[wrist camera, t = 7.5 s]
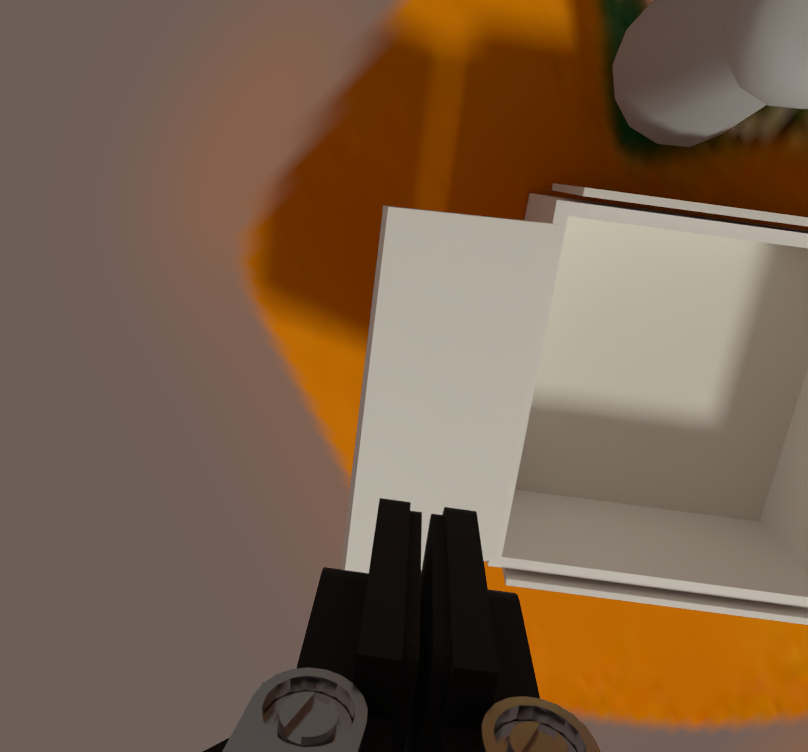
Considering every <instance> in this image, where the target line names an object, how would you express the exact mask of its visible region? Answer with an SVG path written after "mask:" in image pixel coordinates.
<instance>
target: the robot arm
mask: <svg viewBox="0 0 808 752" xmlns="http://www.w3.org/2000/svg"><path fill="white" fill-rule="evenodd" d="M410 505H411V502H404V501H397V500H390V499H382V498H380V499H379V506H378V513H377V520H376V527H375V534H374V540H373V547H372V554H371V561H370V568H369V573H362V572H355V571H348V570H339V569H333V568H326V567H324V568H323V570H322V573H321V577H320V581H319V585H318V588H317V592H316V596H315V600H314V604H313V607H312V611H311V615H310V619H309V623H308V627H307V630H306V634H305V638H304V642H303V646H302V650H301V653H300V657H299V661H298V665H297V669H291V670H288V671H285V672H282V673H279V674H276V675H274V676H273V677H272V678H270V679H268V680H267V681H266V682H264V683H263V684H262V685H261V686H260V687H259V689H258V690H257V691H256V692H255V694H254V695H253V696H252V698H251V700H250V702H249V704H248V706H247V707H246V709H245V711H244V713H243V715H242V717H241V719H240V720H239V722H238V724H237V726H236V727H235V729H234V731H233V733H232V735H231V737H230V738H228V739H226V740H224V741H222V742H220V743H219V744H217V745H215V746H213V747H211V748H209V749H207V750H205V751H203V752H600V750H599V747H598V745H597V743H596V741H595V739H594V738H593V736H592V735H591V733H590V732H589V730H588V729H587V727H586V726H585V725H584V724H583V723H582V722H581V721H580V720H579V719H578V718H576V717H575V716H574V715H573V714H572V713H570V712H568V711H567V710H565V709H563V708H562V707H560V706H559V705H557V704H554V703H551V702H548V701H546V700H543V699H540V697H539V692H538V687H537V682H536V678H535V673H534V668H533V663H532V659H531V654H530V649H529V644H528V639H527V635H526V630H525V625H524V620H523V616H522V611H521V606H520V601H519V598H518V595H517V594H515V593H510V592H502V591H495V590H488V589H487V582H486V575H485V568H484V561H483V554H482V547H481V540H480V533H479V525H478V518H477V513H476V511H470V510H463V509H456V508H448V507H444V510H443V514H442V515H438V514H431V517H430V522H429V528H428V535H427V541H426V547H425V553H424V559H423V565H422V572H421V536H422V512H416V511H410Z"/></svg>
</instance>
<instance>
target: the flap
mask: <svg viewBox="0 0 808 752" xmlns="http://www.w3.org/2000/svg"><path fill="white" fill-rule="evenodd" d="M558 227H559V225H558V224H554V223H545V222H536V221H527V220H517V219H508V218H498V217H489V216H479V215H470V214H460V213H451V212H441V211H432V210H422V209H413V208H404V207H394V206H385V205H383V212H382V221H381V229H380V238H379V247H378V255H377V264H376V272H375V281H374V289H373V298H372V306H371V315H370V323H369V332H368V340H367V349H366V357H365V366H364V375H363V383H362V392H361V400H360V409H359V417H358V426H357V434H356V443H355V451H354V460H353V468H352V477H351V486H350V494H349V503H348V511H347V520H346V528H345V537H344V545H343V554H342V562H341V570H348V571H355V572H362V573H369V568H370V561H371V554H372V547H373V540H374V534H375V527H376V520H377V513H378V506H379V499H380V498H382V499H390V500H397V501H404V502H411V505H410V511H416V512H422V536H421V570H422V565H423V559H424V553H425V547H426V541H427V535H428V528H429V522H430V517H431V514H438V515H442V514H443V510H444V507H448V508H456V509H463V510H470V511H476V513H477V518H478V525H479V533H480V540H481V547H482V554H483V561H488V560H495V556H496V551H497V546H498V541H499V535H500V530H501V525H502V520H503V515H504V509H505V504H506V499H507V494H508V488H509V483H510V478H511V473H512V468H513V462H514V457H515V452H516V447H517V441H518V436H519V431H520V426H521V421H522V415H523V410H524V405H525V400H526V394H527V389H528V384H529V379H530V374H531V368H532V363H533V358H534V353H535V347H536V342H537V337H538V332H539V327H540V321H541V316H542V311H543V306H544V300H545V295H546V290H547V285H548V280H549V274H550V269H551V264H552V259H553V253H554V248H555V243H556V238H557V233H558Z"/></svg>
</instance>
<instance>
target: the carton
mask: <svg viewBox="0 0 808 752" xmlns="http://www.w3.org/2000/svg"><path fill="white" fill-rule="evenodd" d="M552 190H553V191H558V192H564V193H569V194H574V195H580V196H586V197H593V198H601V199H608V200H615V201H623V202H630V203H638V204H645V205H652V206H660V207H667V208H675V209H682V210H689V211H697V212H704V213H712V214H719V215H726V216H734V217H741V218H749V219H756V220H763V221H771V222H778V223H786V224H793V225H800V226H808V217H801V216H793V215H786V214H778V213H771V212H764V211H756V210H749V209H742V208H734V207H727V206H719V205H712V204H705V203H697V202H690V201H682V200H675V199H668V198H660V197H653V196H645V195H638V194H631V193H623V192H616V191H608V190H601V189H594V188H586V187H579V186H571V185H563V184H555V183H553V185H552ZM525 220H527V221H536V222H545V223H554V224H558V225H559V227H558V233H557V238H556V243H555V248H554V253H553V259H552V264H551V269H550V274H549V280H548V285H547V290H546V295H545V300H544V306H543V311H542V316H541V321H540V327H539V332H538V337H537V342H536V347H535V353H534V358H533V363H532V368H531V374H530V379H529V384H528V389H527V394H526V400H525V405H524V410H523V415H522V421H521V426H520V431H519V436H518V441H517V447H516V452H515V457H514V462H513V468H512V473H511V478H510V483H509V488H508V494H507V499H506V504H505V509H504V515H503V520H502V525H501V530H500V535H499V541H498V546H497V551H496V556H495V560H488V561H487V563H488V566H494V567H501V568H503V574H504V579H505V585H509V586H517V587H524V588H532V589H540V590H547V591H555V592H562V593H570V594H578V595H585V596H593V597H600V598H608V599H616V600H623V601H631V602H638V603H646V604H654V605H661V606H669V607H676V608H684V609H691V610H699V611H707V612H714V613H722V614H729V615H737V616H745V617H752V618H760V619H767V620H775V621H783V622H790V623H798V624H805V625H808V230H800V229H793V228H785V227H778V226H771V225H763V224H756V223H748V222H741V221H734V220H726V219H719V218H711V217H704V216H697V215H689V214H682V213H674V212H667V211H660V210H652V209H645V208H637V207H630V206H623V205H615V204H608V203H600V202H593V201H586V200H578V199H571V198H563V197H556V196H549V195H541V194H534V193H529V197H528V203H527V208H526V214H525Z"/></svg>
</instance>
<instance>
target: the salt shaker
mask: <svg viewBox="0 0 808 752" xmlns="http://www.w3.org/2000/svg"><path fill="white" fill-rule="evenodd" d="M612 68H613V81H614V95H615V100H616V102H617V104H618V106H619V108H620V110H621V112H622V114H623V116H624V117H625V119H626V121H627V123H628V125H629V127H631V128H633V129H634V130H636V131H637V132H639V133H641V134H642V135H644V136H646V137H647V138H649V139H650V140H652V141H654V142H655V143H657V144H664V145H673V146H683V147H691V146H694V145H696V144H699V143H701V142H704V141H706V140H709V139H711V138H714V137H716V136H719V135H721V134H723V133H724V132H726V131H727V130H729V129H731V128H732V127H734V126H735V125H737V124H738V123H740V122H741V121H743V120H744V119H746V118H747V117H749V116H750V115H752V114H754V113H755V112H757V111H758V110H760V109H761V108H763V107H764V106H766V105H768V106H776V107H786V108H797V109H808V0H655V1H652V2H651V3H650V4H649V6H648V7H647V8H646V9H645V10H644V11H643V12H642V13H641V14H640V15H639V16H638V18H637V19H636V20H635V21H634V22H633V23H632V24H631V25H630V26H629V27H628V29H627V30H626V32H625V35H624V37H623V40H622V42H621V45H620V47H619V50H618V52H617V55H616V57H615V60H614V62H613V65H612Z"/></svg>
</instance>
